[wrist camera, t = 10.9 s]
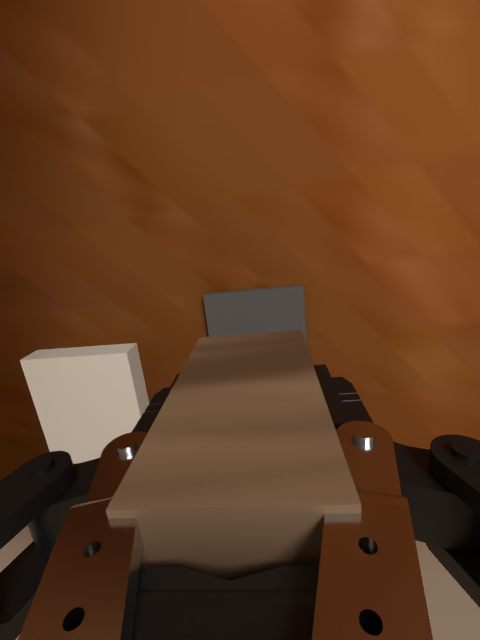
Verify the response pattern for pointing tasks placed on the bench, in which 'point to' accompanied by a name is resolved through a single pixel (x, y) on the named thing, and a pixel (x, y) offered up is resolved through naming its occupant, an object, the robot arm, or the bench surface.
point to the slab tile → (86, 396)
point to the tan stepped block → (238, 462)
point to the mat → (255, 311)
